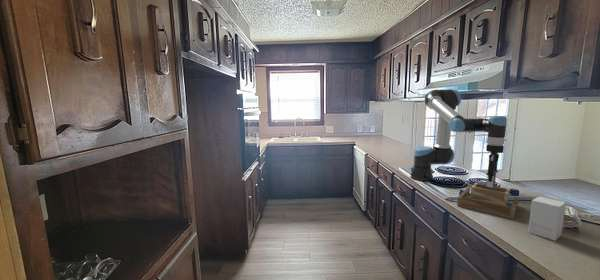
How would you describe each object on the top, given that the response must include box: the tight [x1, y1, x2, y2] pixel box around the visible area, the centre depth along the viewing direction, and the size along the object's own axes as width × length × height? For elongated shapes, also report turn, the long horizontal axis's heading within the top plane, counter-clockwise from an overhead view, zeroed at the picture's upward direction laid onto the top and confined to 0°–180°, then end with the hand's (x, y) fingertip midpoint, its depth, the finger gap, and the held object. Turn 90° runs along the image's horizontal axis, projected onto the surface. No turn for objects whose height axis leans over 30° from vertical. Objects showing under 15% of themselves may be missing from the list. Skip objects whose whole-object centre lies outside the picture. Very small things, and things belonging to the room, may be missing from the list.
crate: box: [470, 170, 511, 206], centre depth 142 cm, size 10×16×17 cm, turn 46°
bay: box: [456, 187, 519, 220], centre depth 140 cm, size 22×24×6 cm
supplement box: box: [527, 196, 567, 242], centre depth 110 cm, size 9×9×15 cm
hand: (490, 185), depth 142 cm, fingers open, 7 cm apart
